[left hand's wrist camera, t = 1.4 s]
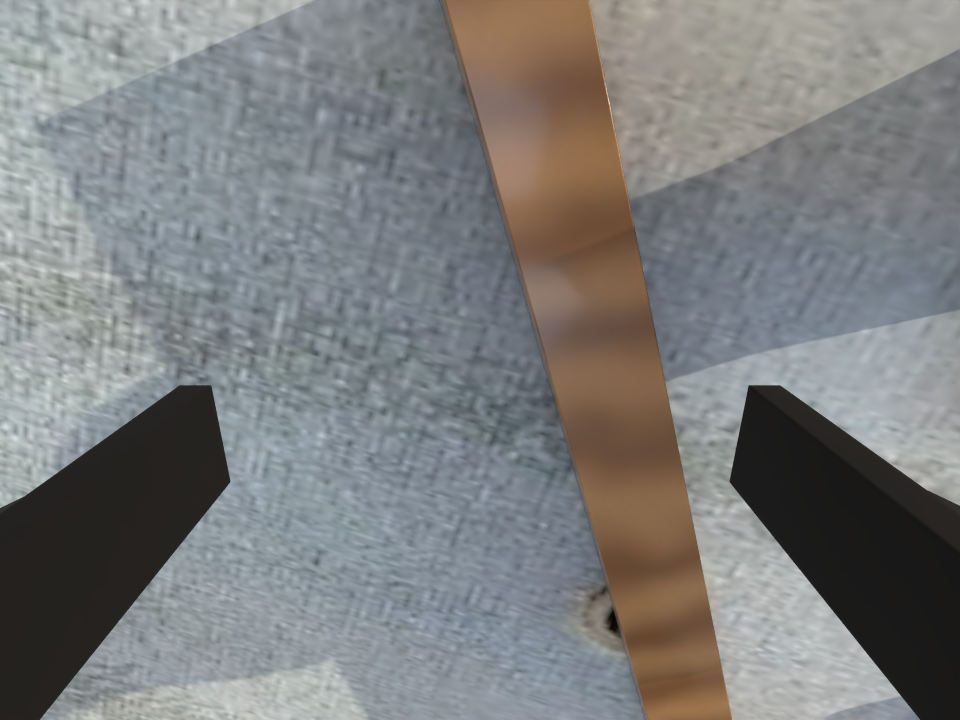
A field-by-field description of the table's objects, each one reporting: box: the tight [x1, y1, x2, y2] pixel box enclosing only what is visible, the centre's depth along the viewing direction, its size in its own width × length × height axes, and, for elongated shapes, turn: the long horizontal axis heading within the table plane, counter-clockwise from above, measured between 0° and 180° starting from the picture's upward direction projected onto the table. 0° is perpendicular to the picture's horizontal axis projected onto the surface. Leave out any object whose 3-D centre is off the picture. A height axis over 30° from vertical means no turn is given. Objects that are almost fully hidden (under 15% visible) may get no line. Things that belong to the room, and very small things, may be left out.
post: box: [440, 0, 732, 720], centre depth 32 cm, size 70×5×8 cm, turn 17°
